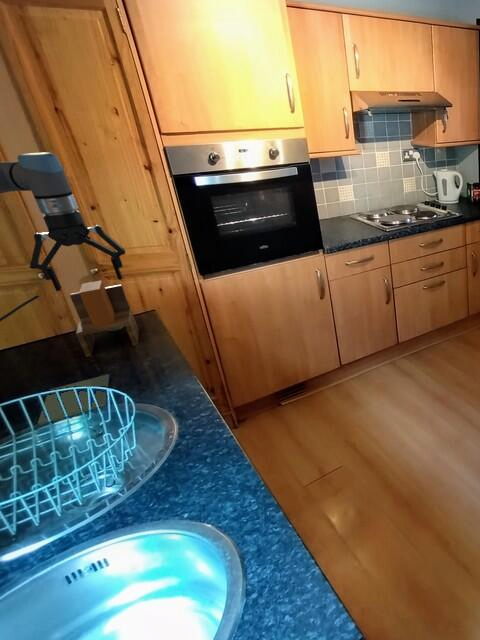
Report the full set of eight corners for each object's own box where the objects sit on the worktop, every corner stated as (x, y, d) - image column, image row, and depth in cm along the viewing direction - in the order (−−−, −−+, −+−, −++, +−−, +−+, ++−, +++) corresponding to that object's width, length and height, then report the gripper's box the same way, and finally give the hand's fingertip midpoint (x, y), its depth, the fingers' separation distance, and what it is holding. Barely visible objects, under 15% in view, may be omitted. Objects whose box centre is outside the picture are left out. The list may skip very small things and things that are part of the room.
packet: (95, 316, 137) (82, 283, 133) (114, 312, 140) (101, 280, 135) (93, 326, 131) (79, 292, 127) (113, 322, 134) (99, 288, 130)
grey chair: (90, 340, 140) (69, 293, 134) (138, 329, 147) (121, 284, 140) (86, 357, 131) (64, 308, 125) (138, 344, 138) (119, 297, 131)
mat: (49, 391, 116) (48, 389, 116) (109, 375, 123) (108, 373, 122) (38, 425, 104) (37, 423, 104) (105, 406, 111) (104, 404, 111)
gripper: (-9, 222, 113) (28, 299, 121) (118, 207, 126) (143, 277, 135) (-2, 216, 118) (33, 290, 127) (119, 203, 132) (144, 270, 140)
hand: (90, 283), depth 131 cm, fingers open, 13 cm apart
